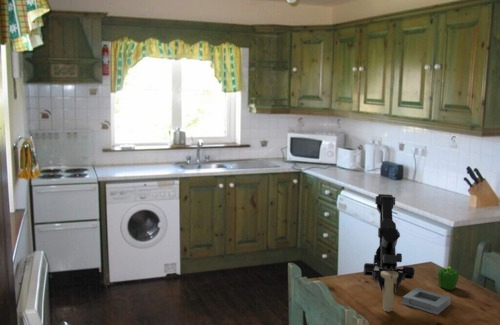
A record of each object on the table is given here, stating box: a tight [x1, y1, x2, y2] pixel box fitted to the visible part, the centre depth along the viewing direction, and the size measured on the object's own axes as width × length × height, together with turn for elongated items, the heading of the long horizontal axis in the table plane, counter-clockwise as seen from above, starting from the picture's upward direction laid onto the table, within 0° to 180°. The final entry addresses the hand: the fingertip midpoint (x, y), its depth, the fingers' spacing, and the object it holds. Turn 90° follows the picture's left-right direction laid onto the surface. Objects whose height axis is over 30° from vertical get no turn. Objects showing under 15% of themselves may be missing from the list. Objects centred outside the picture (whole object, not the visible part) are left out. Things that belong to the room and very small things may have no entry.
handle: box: [381, 271, 398, 313], centre depth 193 cm, size 5×6×15 cm
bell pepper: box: [437, 265, 460, 291], centre depth 216 cm, size 8×8×10 cm
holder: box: [402, 287, 452, 315], centre depth 200 cm, size 14×13×3 cm
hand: (388, 291), depth 191 cm, fingers open, 5 cm apart
